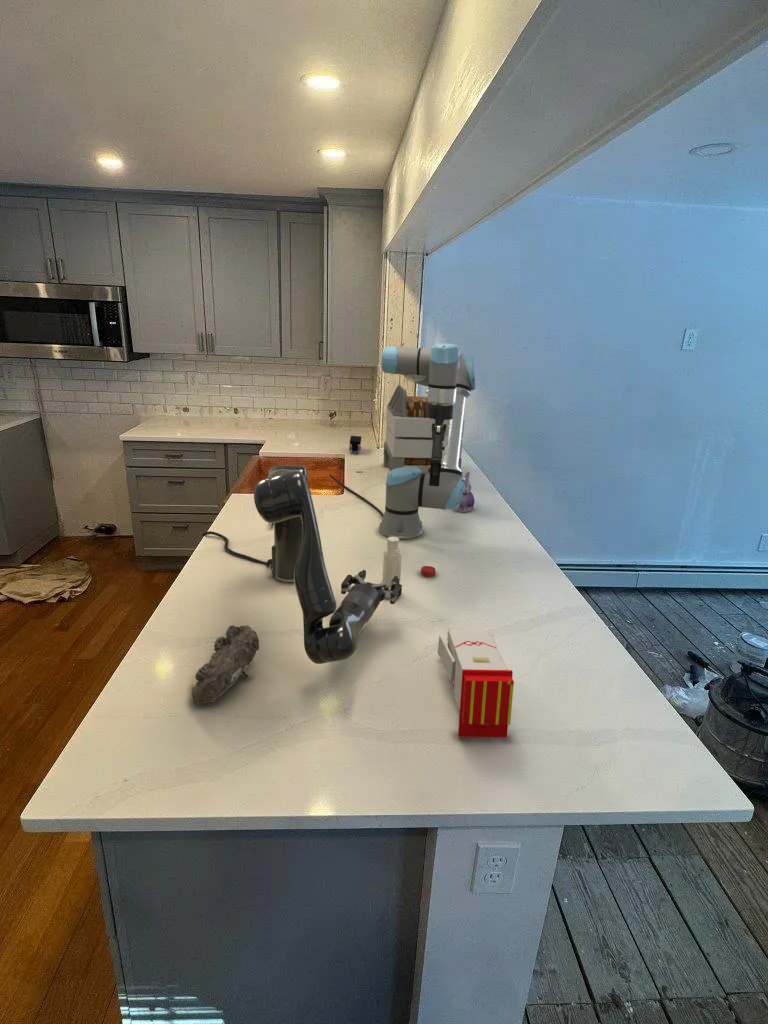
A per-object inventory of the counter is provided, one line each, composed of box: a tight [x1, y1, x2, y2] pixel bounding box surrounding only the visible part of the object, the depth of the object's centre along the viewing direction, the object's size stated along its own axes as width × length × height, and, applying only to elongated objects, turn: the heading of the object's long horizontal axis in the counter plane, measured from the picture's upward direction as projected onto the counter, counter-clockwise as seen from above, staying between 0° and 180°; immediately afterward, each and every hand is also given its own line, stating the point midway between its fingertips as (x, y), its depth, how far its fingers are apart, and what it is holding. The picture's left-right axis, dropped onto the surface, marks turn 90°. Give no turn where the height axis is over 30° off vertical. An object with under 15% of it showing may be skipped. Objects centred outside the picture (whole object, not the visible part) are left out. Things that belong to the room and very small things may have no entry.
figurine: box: [455, 471, 476, 513], centre depth 225 cm, size 9×10×15 cm
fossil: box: [191, 624, 260, 705], centre depth 119 cm, size 22×10×15 cm
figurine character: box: [348, 435, 363, 455], centre depth 309 cm, size 7×8×15 cm
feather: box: [266, 523, 274, 529], centre depth 211 cm, size 2×28×2 cm
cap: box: [420, 565, 436, 578], centre depth 170 cm, size 4×4×2 cm
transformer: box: [383, 384, 465, 472], centre depth 268 cm, size 34×33×41 cm
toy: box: [437, 628, 515, 738], centre depth 117 cm, size 12×13×30 cm
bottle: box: [381, 537, 403, 589], centre depth 154 cm, size 5×5×17 cm
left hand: (380, 576), depth 145 cm, fingers open, 8 cm apart
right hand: (435, 478), depth 160 cm, fingers open, 13 cm apart
